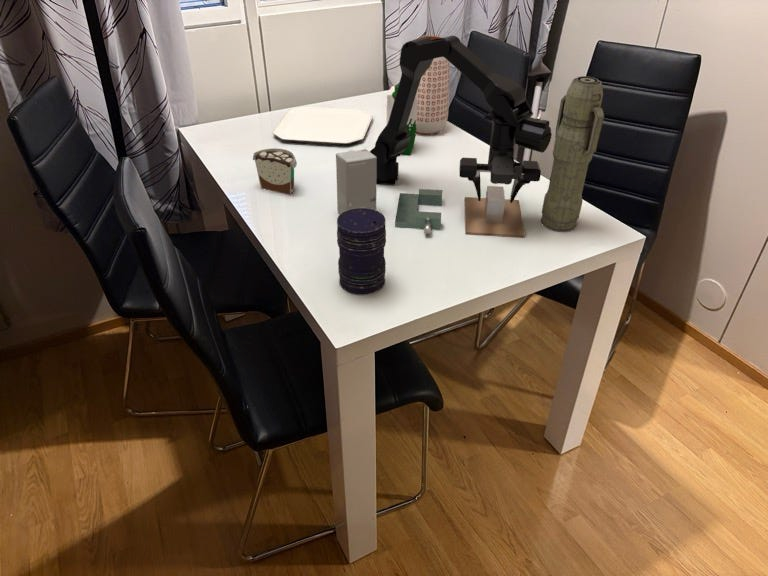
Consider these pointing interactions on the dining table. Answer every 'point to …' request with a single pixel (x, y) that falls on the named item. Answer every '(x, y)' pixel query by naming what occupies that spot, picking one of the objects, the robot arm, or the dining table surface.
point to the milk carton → (412, 119)
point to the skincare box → (356, 180)
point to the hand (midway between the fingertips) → (495, 201)
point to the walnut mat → (508, 228)
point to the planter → (433, 96)
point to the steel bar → (494, 204)
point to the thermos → (573, 152)
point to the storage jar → (361, 250)
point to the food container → (276, 170)
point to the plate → (324, 125)
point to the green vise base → (417, 219)
